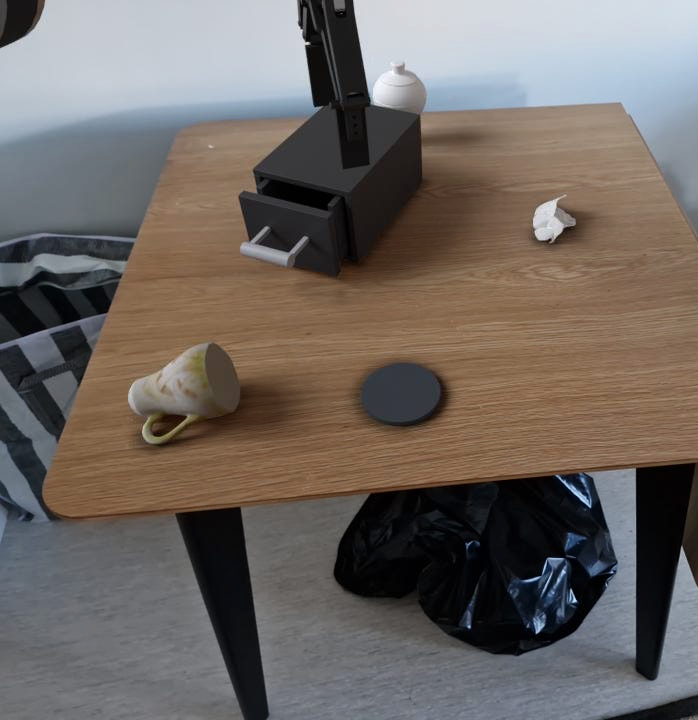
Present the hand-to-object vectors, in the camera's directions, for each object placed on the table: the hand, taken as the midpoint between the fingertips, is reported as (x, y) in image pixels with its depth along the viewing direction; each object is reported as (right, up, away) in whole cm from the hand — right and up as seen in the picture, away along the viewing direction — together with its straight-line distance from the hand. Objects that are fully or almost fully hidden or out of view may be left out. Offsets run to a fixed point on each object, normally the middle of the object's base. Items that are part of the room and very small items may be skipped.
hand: (340, 133), depth 76 cm
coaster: (+7, -27, -2) cm, 28 cm away
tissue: (+24, -6, +19) cm, 31 cm away
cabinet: (-3, -4, +20) cm, 21 cm away
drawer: (-5, -8, +15) cm, 17 cm away
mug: (-14, -29, -4) cm, 32 cm away
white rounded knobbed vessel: (+3, +9, +33) cm, 34 cm away
